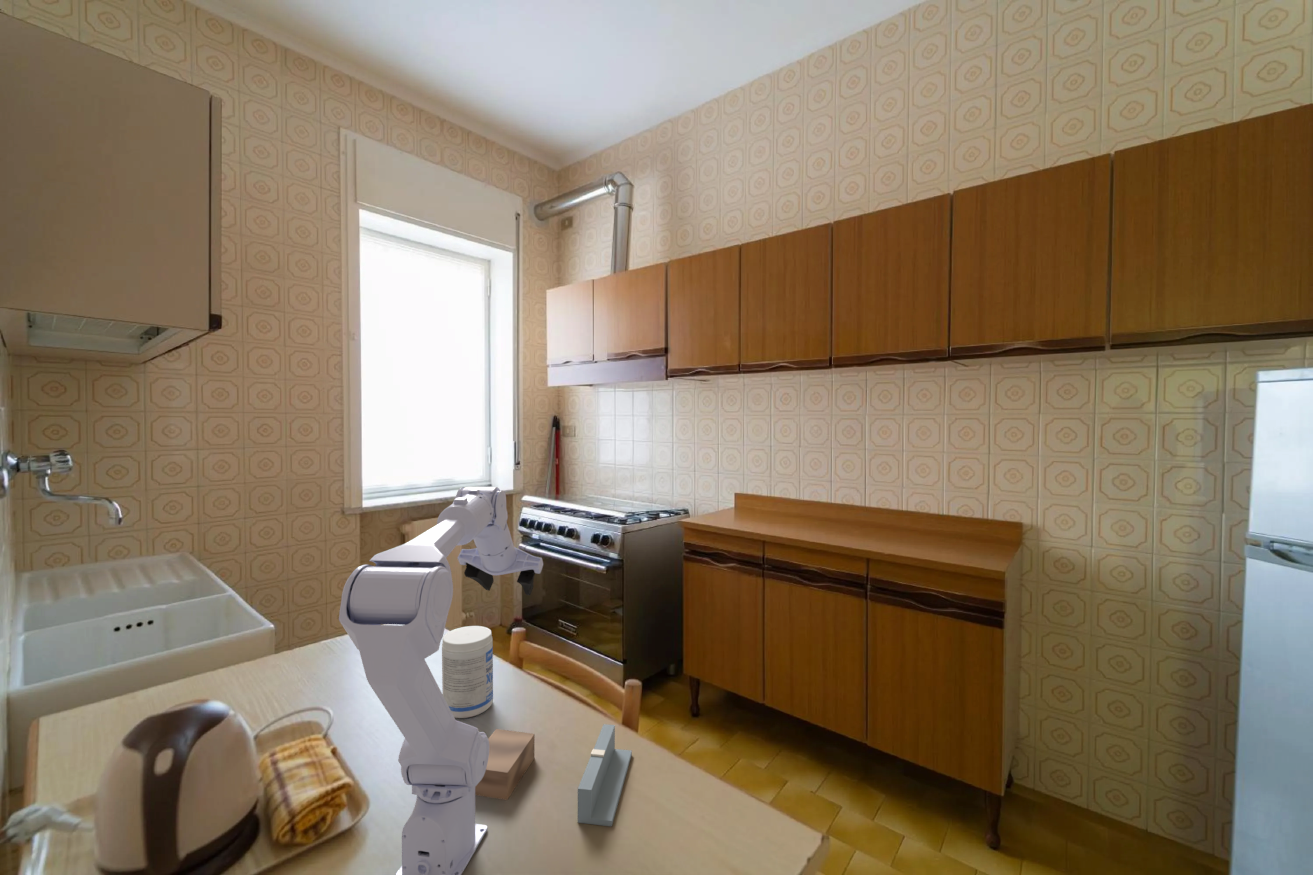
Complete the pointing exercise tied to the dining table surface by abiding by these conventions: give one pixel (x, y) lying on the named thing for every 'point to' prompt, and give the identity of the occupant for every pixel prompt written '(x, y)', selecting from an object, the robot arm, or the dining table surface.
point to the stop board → (603, 780)
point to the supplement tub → (467, 670)
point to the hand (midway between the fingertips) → (509, 587)
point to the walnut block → (506, 763)
